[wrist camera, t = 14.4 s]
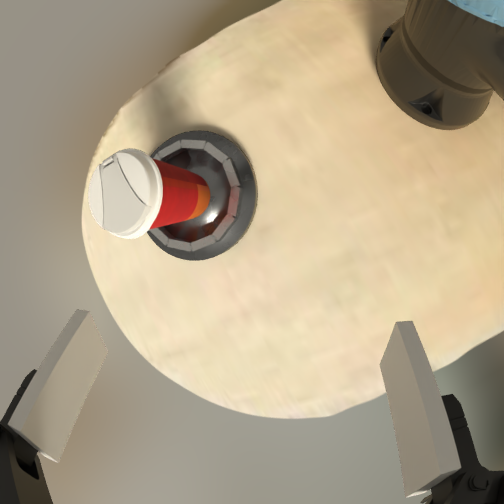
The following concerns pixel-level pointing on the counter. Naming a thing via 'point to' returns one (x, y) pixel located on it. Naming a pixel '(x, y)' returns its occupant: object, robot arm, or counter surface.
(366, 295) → the counter surface
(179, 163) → the rosette plate
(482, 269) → the counter surface
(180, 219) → the paper cup
